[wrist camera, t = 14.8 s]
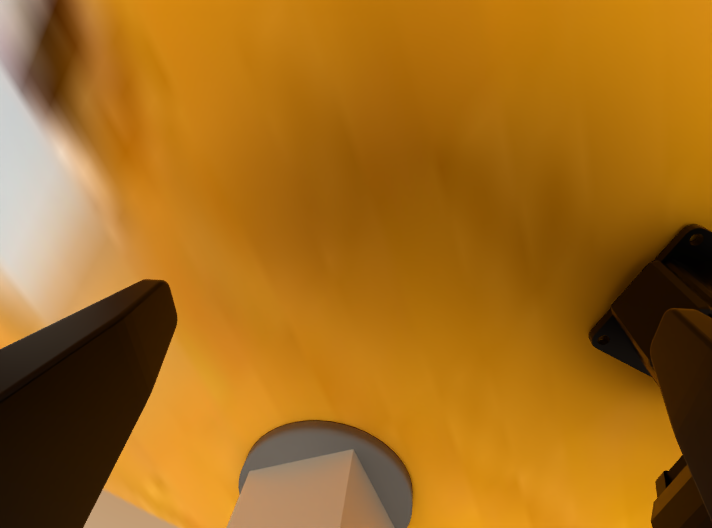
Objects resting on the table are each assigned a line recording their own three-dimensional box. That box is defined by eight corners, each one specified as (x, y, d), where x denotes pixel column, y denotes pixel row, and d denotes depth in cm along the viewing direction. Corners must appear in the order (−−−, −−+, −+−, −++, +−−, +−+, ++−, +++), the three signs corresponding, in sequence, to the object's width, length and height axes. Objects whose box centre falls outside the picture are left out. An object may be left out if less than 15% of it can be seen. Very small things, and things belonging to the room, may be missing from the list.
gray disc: (445, 470, 26) (446, 485, 25) (363, 564, 31) (361, 580, 30) (282, 392, 25) (277, 405, 25) (221, 500, 30) (215, 514, 29)
